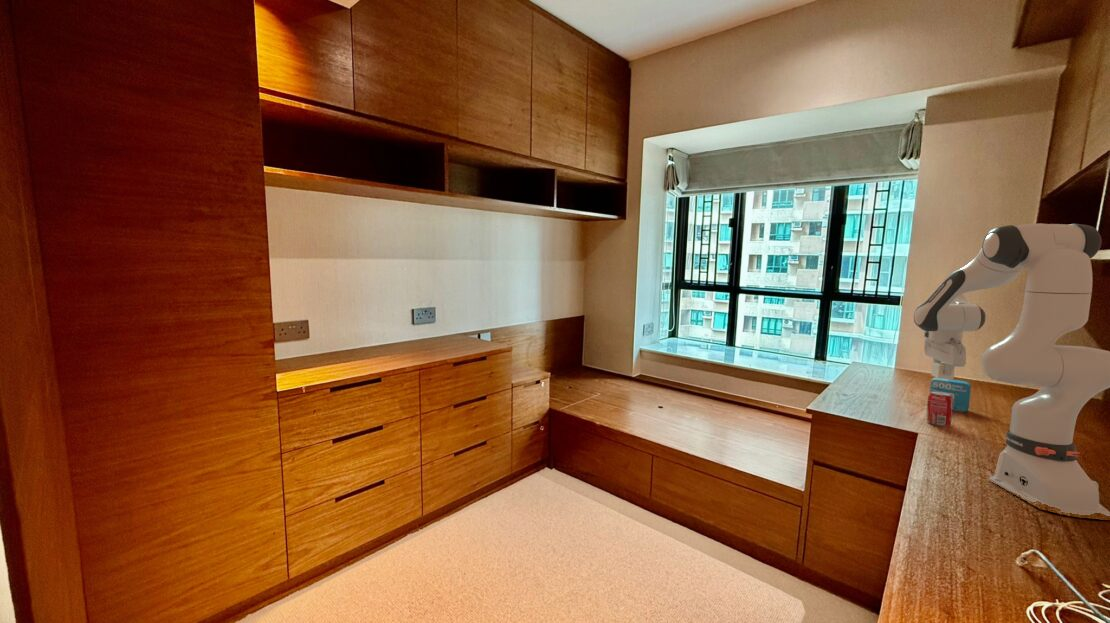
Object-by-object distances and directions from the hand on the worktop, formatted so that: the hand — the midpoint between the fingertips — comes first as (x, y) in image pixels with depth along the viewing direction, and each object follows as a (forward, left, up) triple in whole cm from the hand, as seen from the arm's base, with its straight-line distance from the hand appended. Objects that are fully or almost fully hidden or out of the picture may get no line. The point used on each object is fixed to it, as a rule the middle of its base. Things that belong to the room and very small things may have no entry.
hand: (942, 372), depth 157 cm
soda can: (0, 0, -20) cm, 20 cm away
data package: (+22, -13, -20) cm, 32 cm away
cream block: (0, 0, -2) cm, 2 cm away
